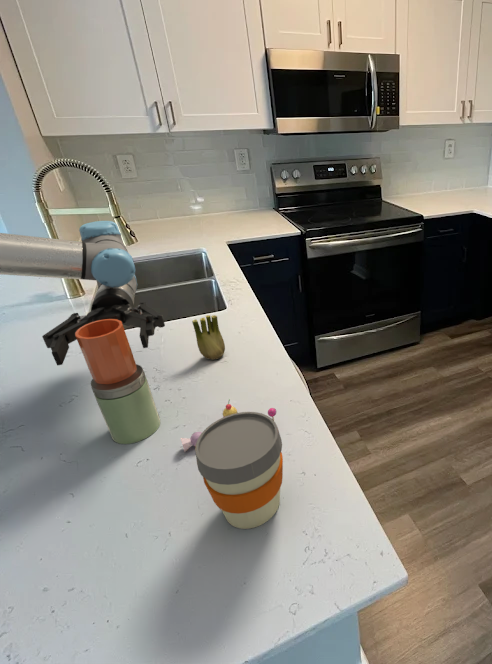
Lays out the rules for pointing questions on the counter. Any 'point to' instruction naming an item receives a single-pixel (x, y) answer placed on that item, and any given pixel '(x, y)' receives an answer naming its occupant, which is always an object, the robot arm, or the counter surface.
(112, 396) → the jar lid
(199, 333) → the fennel bulb
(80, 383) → the counter surface
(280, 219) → the counter surface
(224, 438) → the reusable coffee cup
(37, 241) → the robot arm
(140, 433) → the jar
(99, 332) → the cup
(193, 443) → the candy
